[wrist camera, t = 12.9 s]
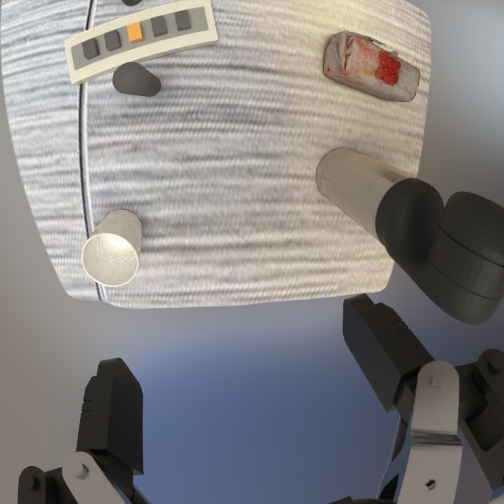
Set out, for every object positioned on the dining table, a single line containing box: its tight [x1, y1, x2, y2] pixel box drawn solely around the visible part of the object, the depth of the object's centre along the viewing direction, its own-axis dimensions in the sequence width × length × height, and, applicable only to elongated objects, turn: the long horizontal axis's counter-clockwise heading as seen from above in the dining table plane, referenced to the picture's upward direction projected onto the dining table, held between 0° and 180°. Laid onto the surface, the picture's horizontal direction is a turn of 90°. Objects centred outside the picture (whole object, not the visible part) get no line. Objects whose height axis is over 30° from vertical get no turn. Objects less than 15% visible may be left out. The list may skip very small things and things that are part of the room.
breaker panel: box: [64, 0, 218, 85], centre depth 28 cm, size 20×7×5 cm, turn 101°
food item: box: [324, 31, 420, 102], centre depth 34 cm, size 14×8×10 cm, turn 79°
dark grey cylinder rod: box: [113, 62, 161, 97], centre depth 28 cm, size 3×3×16 cm
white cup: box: [81, 209, 143, 287], centre depth 39 cm, size 8×8×10 cm
